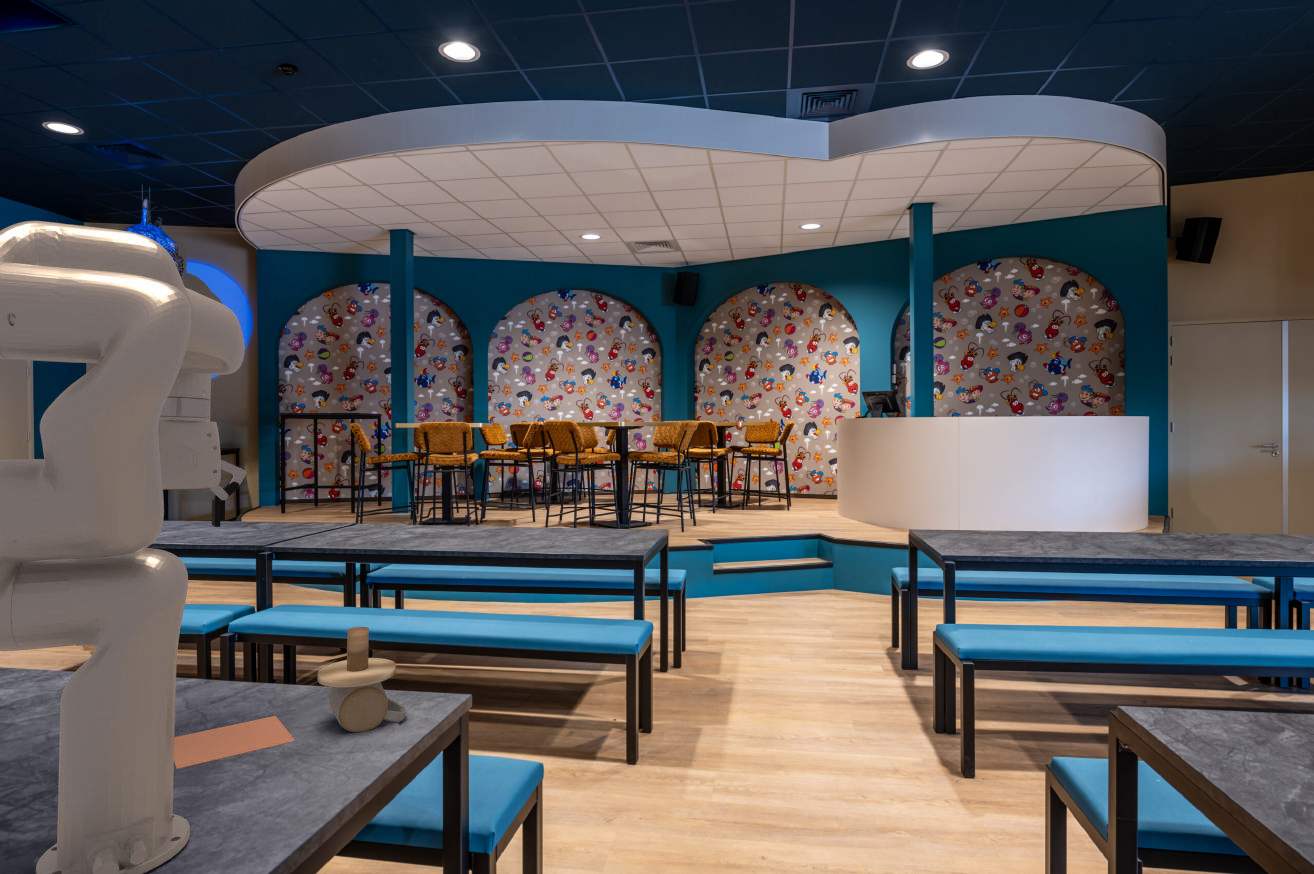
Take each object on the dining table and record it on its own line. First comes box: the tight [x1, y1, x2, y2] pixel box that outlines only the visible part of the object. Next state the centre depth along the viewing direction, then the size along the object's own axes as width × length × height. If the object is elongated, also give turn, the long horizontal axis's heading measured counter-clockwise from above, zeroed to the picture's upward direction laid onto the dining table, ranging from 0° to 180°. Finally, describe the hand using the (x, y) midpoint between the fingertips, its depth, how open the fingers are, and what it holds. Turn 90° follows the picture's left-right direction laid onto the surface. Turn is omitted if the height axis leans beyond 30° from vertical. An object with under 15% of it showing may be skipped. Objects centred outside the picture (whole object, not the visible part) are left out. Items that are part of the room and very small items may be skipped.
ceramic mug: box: [329, 681, 408, 733], centre depth 108 cm, size 11×8×8 cm
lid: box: [317, 626, 397, 688], centre depth 108 cm, size 11×11×7 cm
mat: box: [174, 715, 296, 770], centre depth 100 cm, size 12×14×1 cm
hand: (177, 528), depth 103 cm, fingers open, 9 cm apart
